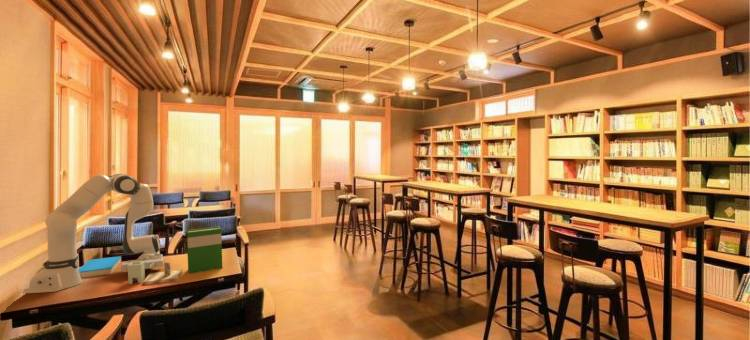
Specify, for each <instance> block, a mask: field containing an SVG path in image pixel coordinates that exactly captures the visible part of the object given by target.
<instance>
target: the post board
mask: <svg viewBox="0 0 750 340" xmlns="http://www.w3.org/2000/svg"><path fill="white" fill-rule="evenodd" d="M163 268H164V271H158V272H150V273H149V274H148V275H147V277H145V279H144V281H143V282H142V285H143V286H146V285H154V284H161V283H170V282H177V281H178V280H179V278H180V277H181V275H182V274H183V269H177V270H171V262H170V261H166V262H163Z"/></svg>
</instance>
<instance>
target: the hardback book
mask: <svg viewBox="0 0 750 340" xmlns="http://www.w3.org/2000/svg"><path fill="white" fill-rule="evenodd" d="M222 241H223V240H222V228H221V227H220V226H212V227H211V226H210V227H201V228H195V229H186V243H187V244H186V245H187V246H186V249H187V250H186V251H187V271H188V274H189V275H191V274H197V273H201V272H207V271H208V272H209V271H214V270H218V269H223V244H222V243H223V242H222Z"/></svg>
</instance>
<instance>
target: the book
mask: <svg viewBox="0 0 750 340" xmlns="http://www.w3.org/2000/svg"><path fill="white" fill-rule="evenodd" d="M121 262H122V255H120V256H112V257H111V256H110V257H102V258H94V259H93V258H92V259H89V260H88V261H86V262H85V263H84V264H83V265H82V266H80V267H78V270H79V274H80V277H81V279H83V278H89V277H95V276H97V275H98V276H104V275H111V274H112V273H113V272H114V271H115V270H116V269H117V268H118V266H119V265H120V263H121ZM98 276H97V277H98Z"/></svg>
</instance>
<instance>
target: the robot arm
mask: <svg viewBox="0 0 750 340" xmlns="http://www.w3.org/2000/svg"><path fill="white" fill-rule="evenodd" d="M111 191H114V192H116V193H118V194H122V195H128V196H129V198H130V204H131V205H130V210H129V211H127V212H126V214H125V217H124V218H125V219H124V229H123V240H122V247H121V249H122V252H123V253H124V254H127V255H129V256H131V255H135V254H139V253H142V254H141V255H140V256H138V258H137V259H135V260H127V261H124V262H123V263H121V265H120V270H121V271H123V272H124V271H128V265H129V264H130V263H131V262H138V261H144V266H145V270H149V269H150V270H151V269H152V268H160V267H164V255H163V254H161V252H160V251H161V240H160V238H159V237H157V235H156V234H147V235H141V236H136V237H135V236H134V228H135V227H134V225H135V222H136V221H138V220H140V219H142V218H144V217H147V216H148V215H150V214H151V213H152V212H153V210H154V199H153V192H152V191H151V188H150V186H149V184H147V183H139V181H137V180H136V178H135V177H133V176H131V175H129V174H126V173H125V174H124V173H116V174H114V175H110V176H107V175H105V174H103V173H99V174H95V175H93V176H91V178H89V179H88V180H86V181H85V182H84V183H82V185H81V186H80V187H79V188H77V189H76V190H75V192H74V193H73V194H72V195H70V196H69V197H68V198H67V199H66V200H65V201H63V202H62V203H61V204H60V205H58V206H57V207H56V208H55V209H54V210H53V211H51V212H50V213H49V214H48V215H47V216H46V218H45V220H44V221H45V226H46V228H47V258H48V259H47V260H46V261H44V263H42V267H44V268H43V269H41V270H40V271H38V272H37V273H36V274H35V275H33V276H32V277H31V278H30V280H29V283H28V286H27V287H25V288H23V290H22V294H38V293H39V294H40V293H53V292H54V293H55V292H60V291H62V290H65V289H68V288H71V287H75V286H78V285H79V284H81V283H83V278H81V277H80V274H79V270H78V269H79V263H80V261H79V256H78V254H77V251H78V250H77V235H78V233H77V232H78V231H77V230H78V229H77V225H78V223H77V221H78V220H79V219H80V218H82V216H84V215H85V214H86V213H87V212H89V211H90V210H91V209H93V207H95V206H96V204H97V203H98V202H100V200H101V199H102V198H103V197H104V196H105V195H106V194H108V193H109V192H111Z"/></svg>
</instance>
